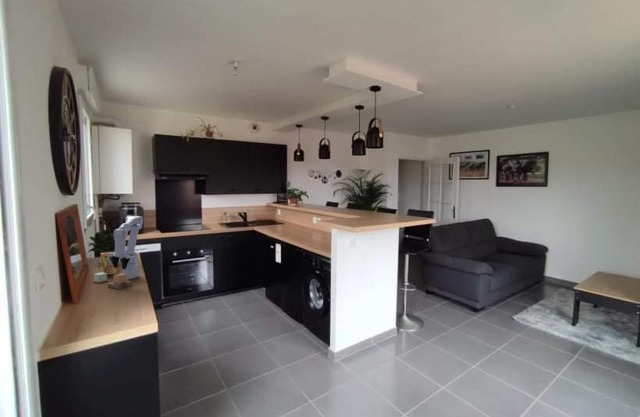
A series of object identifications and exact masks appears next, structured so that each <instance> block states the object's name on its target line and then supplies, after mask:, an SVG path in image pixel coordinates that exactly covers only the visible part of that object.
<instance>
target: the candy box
mask: <svg viewBox="0 0 640 417" xmlns="http://www.w3.org/2000/svg"><path fill="white" fill-rule="evenodd" d="M111 253H115V251H114V252H113V251H112V252H101V253H100V273H101V272H103V273H107V276H108V275H116V274H117V268H114V267H113V263H112V261H111V259H110V257H112V256H111Z"/></svg>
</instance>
